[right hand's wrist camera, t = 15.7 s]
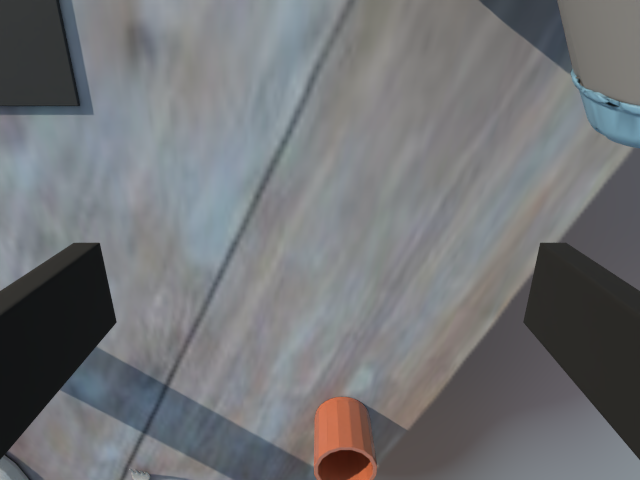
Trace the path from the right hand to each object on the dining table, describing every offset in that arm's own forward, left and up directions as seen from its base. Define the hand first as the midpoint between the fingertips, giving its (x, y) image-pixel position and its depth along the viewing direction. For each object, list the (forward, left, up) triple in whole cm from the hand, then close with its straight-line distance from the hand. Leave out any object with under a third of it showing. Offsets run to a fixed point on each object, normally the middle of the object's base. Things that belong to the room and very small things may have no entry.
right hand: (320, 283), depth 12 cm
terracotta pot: (-3, +37, -32) cm, 49 cm away
